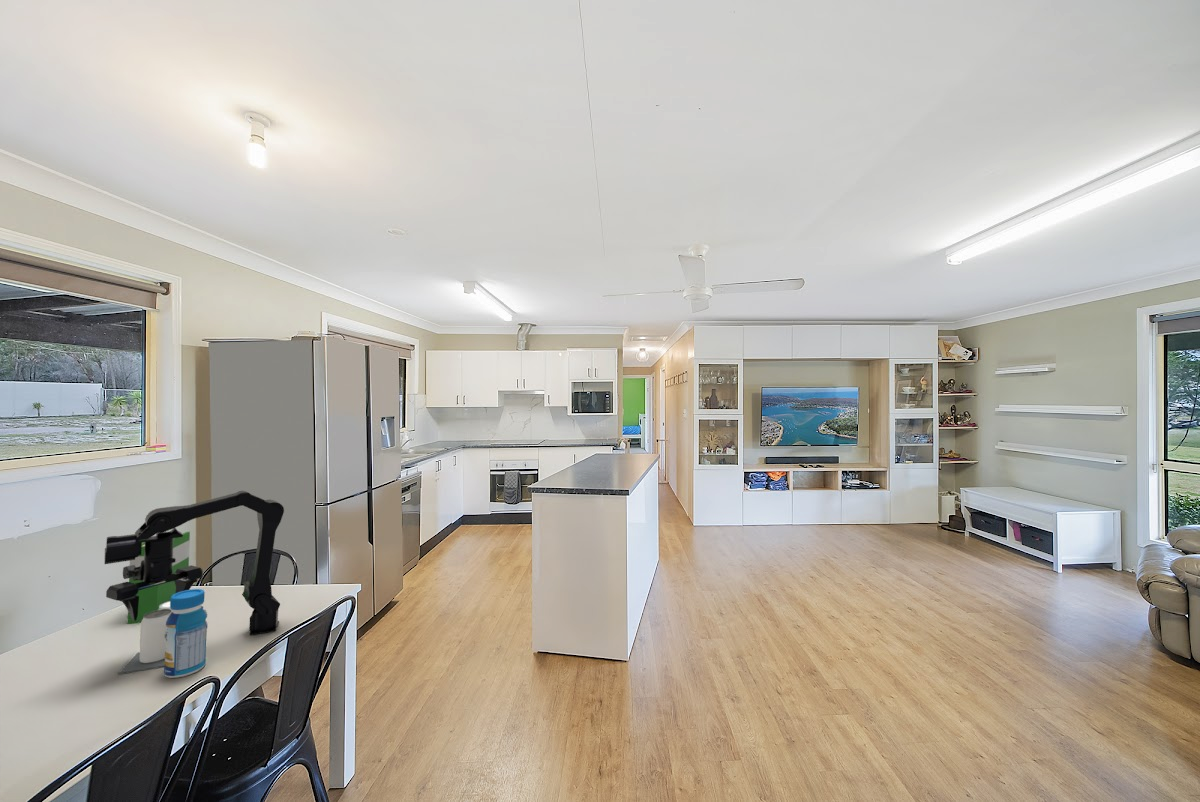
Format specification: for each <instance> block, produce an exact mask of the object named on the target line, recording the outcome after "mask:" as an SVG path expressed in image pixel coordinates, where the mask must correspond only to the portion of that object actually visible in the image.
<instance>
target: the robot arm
mask: <svg viewBox="0 0 1200 802" xmlns="http://www.w3.org/2000/svg"><path fill="white" fill-rule="evenodd" d="M241 506H243V507H245V508H246V509H247V508H248V509H249V510H252V511H254V512H256V515H257V516H256V517H257V518H256V519H257V523H258V529H259V530H258V531H259V532H258V538H257V545H256V550H255V552H256V553H255V559H254V565H253V573H252V576H251V578H250V580H249V581H244V582H243V586H244V587H243V592H242V593H241V595H242V597H243V598H244V600H245V601H246V603H247V605H248V606H249V607H250V608H252V609H253V610H252V612H251V615H250V616H249V628H248V629H249V631H250V632H249V635H250V636H251V635H258V634H264V633H271V632H276V630H277V628H278V626H279V624H280V621H279V608H280V607H281V603H280V602H279V600H278V599H276V597H275V596H274V595H273V593H272V583H271V578H270V576H271V575H270V573H271V566H272V562H273V561H272V560H273V552H274V546H275V537H276V533H277V529H278V527H279V526H280V524H281V522H282V519H283V516H284V513H285V508H284V506H283V505H282V504H281V503H280V502H278V501H276V500H275V499H263V498H260V497H258V496H256V495H253V494H251V493H250V492H248V491H246V490H239V491H237V492H234V493H230V494H226V495H222V496H219V497H215V498H211V499H207V500H204V501H199V502H195V503H192V504H188V505H175V506H166V507H160V508H159V507H158V508H155V509H152V510H151V511H149V512H148V513H147V515H145V518H144V523H143V524H141V525H140V526H139V527H138V529H137V530H136V531H135V532H134V534H126V535H113V536H111V535H110V536H107V537H106V541H105V548H104V562H103V563H104V565H110V564H115V563H116V564H117V563H123V562H128V561H129V562H130V560H135V557H138V555H141V550H142V542H145V552H144V560H142V561H141V566H140V567H136V566H135V565H131V566H130V565H128V566H124V567H123V568H122V577H123V579H124V580H127V579H128V580H129V578H132V581H135V580H139V581H141V580H143V582H140V583H136V584H134V583H130V582H129V581H125V582H124V581H123V582H121V583H117V584H112V585H110V586H109V587H108V588H107V589H106V591H105V593H106V594H105V595H106V598H108V599H111V600H114V601H119V602H122V604H123V605H124V606H125V608H126V610H127V613H128V612H129V614H130V616H131V618H132V620H133V621H136V620H137V616H138V606H139V596H136V594H137V593H138V590H142V589H145V588H149V587H153V586H156V585H160V584H164V583H167V582H171V581H174V582H175V585H176V592H175V594H176V593H178V592H181V591H185V590H191V587H192V586H193V585H194V584H195V583H197V582H198V579H202V578H203V577H204V570H203V568H202V567H199V566H195V565H193V564H192V565H189V566H187V567H183V568H179V569H177V570H176V572H175V573H172V564H173V563H174V562H175V558H173V539H174V538H179V537H183V532H181V531H179V530H178V529H177V527H180V526H182V525H183V524H186V523H187V522H190V521H192V520H194V519H198V518H202V517H206V516H208V515H213V514H216V513H220V512H223V511H226V510H229V509H234V508H237V507H241ZM149 583H151V584H149Z"/></svg>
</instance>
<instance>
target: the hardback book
mask: <svg viewBox="0 0 1200 802" xmlns="http://www.w3.org/2000/svg"><path fill="white" fill-rule="evenodd" d="M182 534H183V537H179V538H174V539H173V558H175V562H174V563H173V564H172V573H175V572H176V570H177V569H179V568H183V567H187V566H190V565H189V563H190V539H191V538H190V537H191V536H190V534H191V531H185V532H182ZM144 552H145V542H142V550H141V555H138V557H135V560H130V561H129V566H131V565H135V566H136V567H140V566H141V561H142V560H144ZM128 582H130V583H134V584H136V583H140V582H143V580H141V581H139V580H135V581H132V578H128ZM149 584H151V583H149ZM175 592H176V585H175V582H174V581H171V582H167V583H164V584H160V585H156V586H153V587H149V588H145V589H142V590H138V593H137V594H136V596H139V606H138V616H137V620H136V621H133V620H132V618H131V616H130V614H129V612H128V611H127V623H126V624H127V625H130V624H131V625H132V624H141V621H142V620H143V616H144V615H145V614H147V613H149V612H152V611H156V610H159V606H160V605H161V604H163V603H165V602H169V601H170V599H171V596H172V595H174V594H175Z"/></svg>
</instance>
